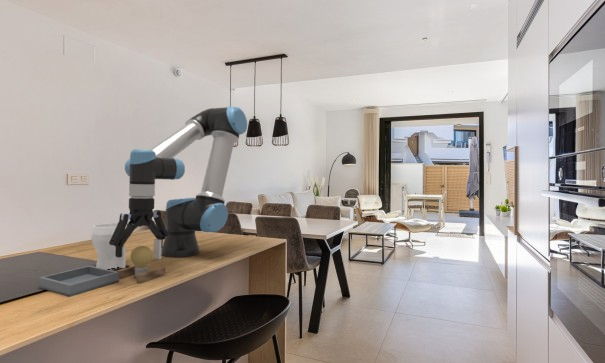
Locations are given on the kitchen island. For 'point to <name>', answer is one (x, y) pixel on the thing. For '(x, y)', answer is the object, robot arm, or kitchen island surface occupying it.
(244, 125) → the robot arm
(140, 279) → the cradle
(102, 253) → the cup
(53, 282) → the tray
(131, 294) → the kitchen island surface
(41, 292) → the kitchen island surface
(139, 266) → the light bulb
